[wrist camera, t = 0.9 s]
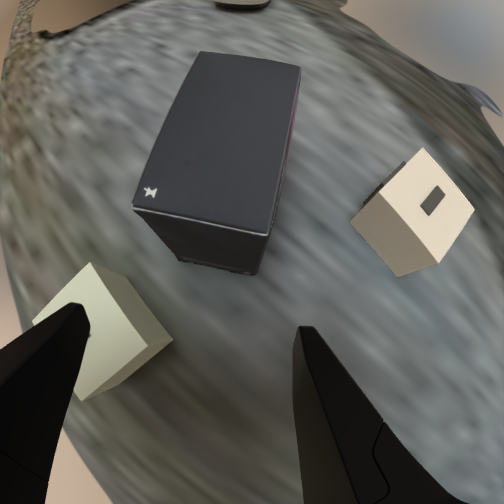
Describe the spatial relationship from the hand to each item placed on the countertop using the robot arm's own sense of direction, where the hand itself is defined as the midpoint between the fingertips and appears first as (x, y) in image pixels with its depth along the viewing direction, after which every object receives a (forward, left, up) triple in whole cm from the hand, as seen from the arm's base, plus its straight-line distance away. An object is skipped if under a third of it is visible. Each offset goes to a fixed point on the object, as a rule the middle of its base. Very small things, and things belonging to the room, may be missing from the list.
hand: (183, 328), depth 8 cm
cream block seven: (-4, -15, -14) cm, 21 cm away
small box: (+6, -6, -14) cm, 17 cm away
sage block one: (+4, +7, -14) cm, 16 cm away
